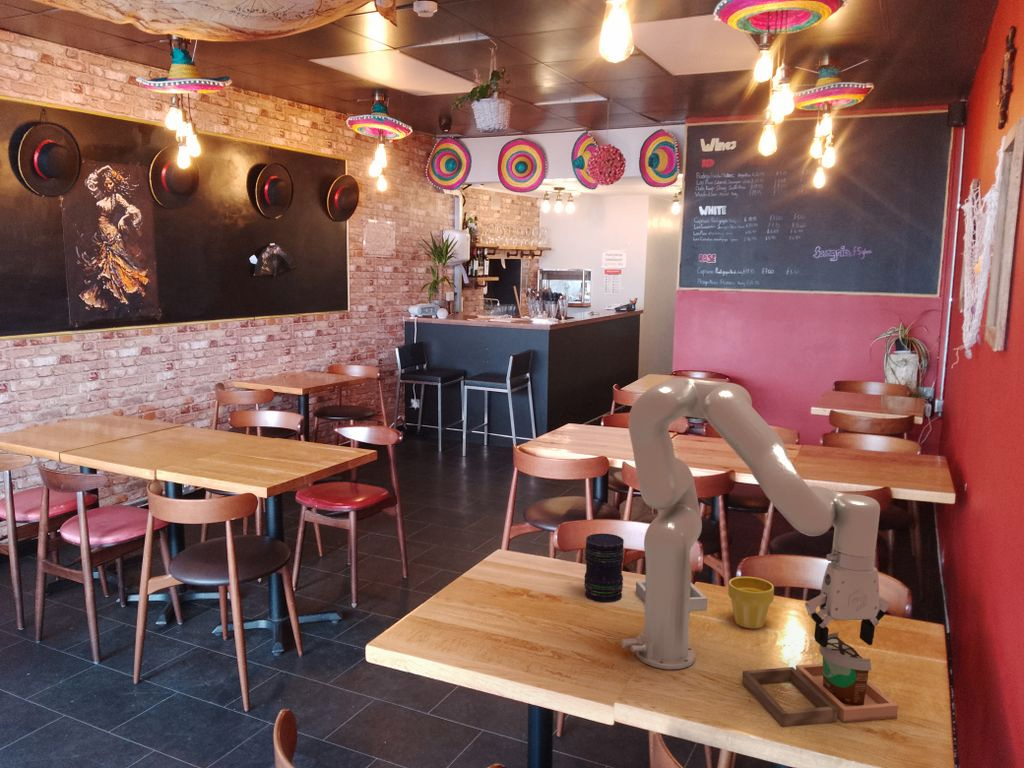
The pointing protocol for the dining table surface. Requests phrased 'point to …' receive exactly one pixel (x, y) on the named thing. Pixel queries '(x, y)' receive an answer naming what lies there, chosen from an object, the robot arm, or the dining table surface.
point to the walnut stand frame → (801, 716)
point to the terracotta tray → (872, 709)
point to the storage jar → (604, 568)
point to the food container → (844, 671)
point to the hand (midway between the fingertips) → (843, 642)
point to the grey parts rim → (697, 598)
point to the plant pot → (750, 600)
